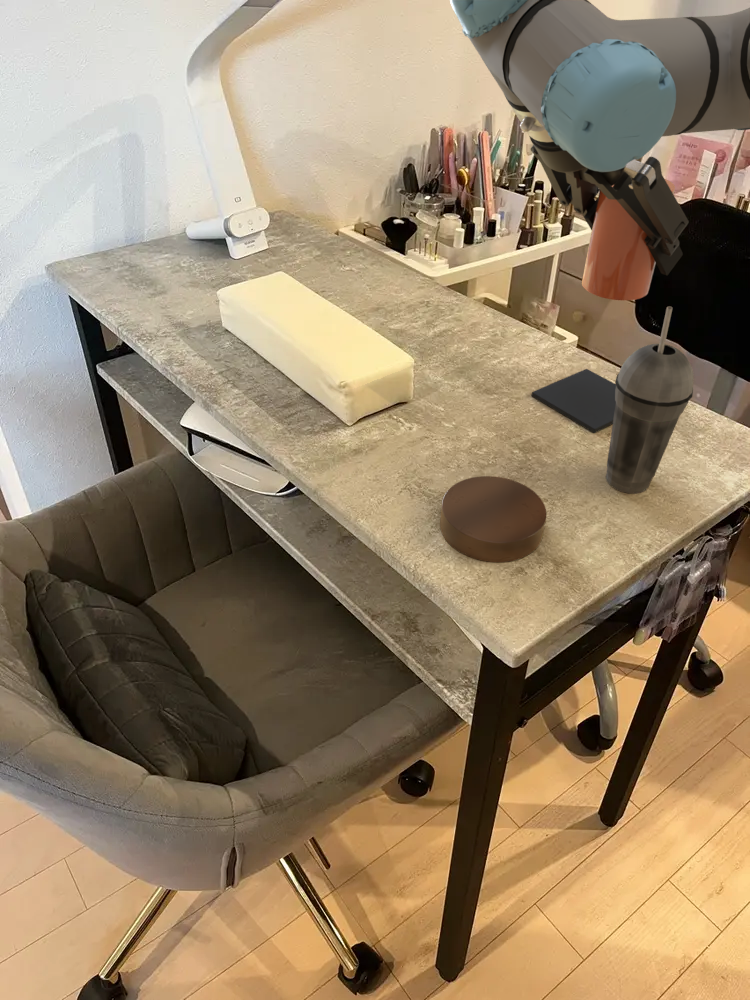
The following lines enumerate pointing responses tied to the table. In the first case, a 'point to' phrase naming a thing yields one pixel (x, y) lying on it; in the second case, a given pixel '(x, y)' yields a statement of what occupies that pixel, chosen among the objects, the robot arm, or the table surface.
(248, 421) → the table surface
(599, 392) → the mat
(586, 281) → the terracotta cylinder
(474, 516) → the saucer
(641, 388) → the beverage cup
